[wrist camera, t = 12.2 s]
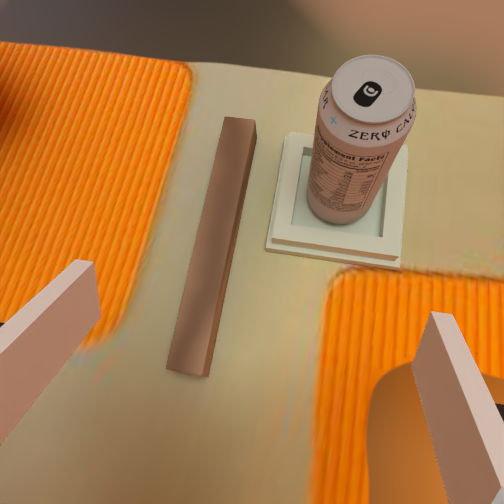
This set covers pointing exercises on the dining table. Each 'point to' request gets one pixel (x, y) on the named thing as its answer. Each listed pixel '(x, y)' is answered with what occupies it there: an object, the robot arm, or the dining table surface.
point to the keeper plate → (330, 234)
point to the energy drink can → (358, 135)
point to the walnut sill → (213, 250)
